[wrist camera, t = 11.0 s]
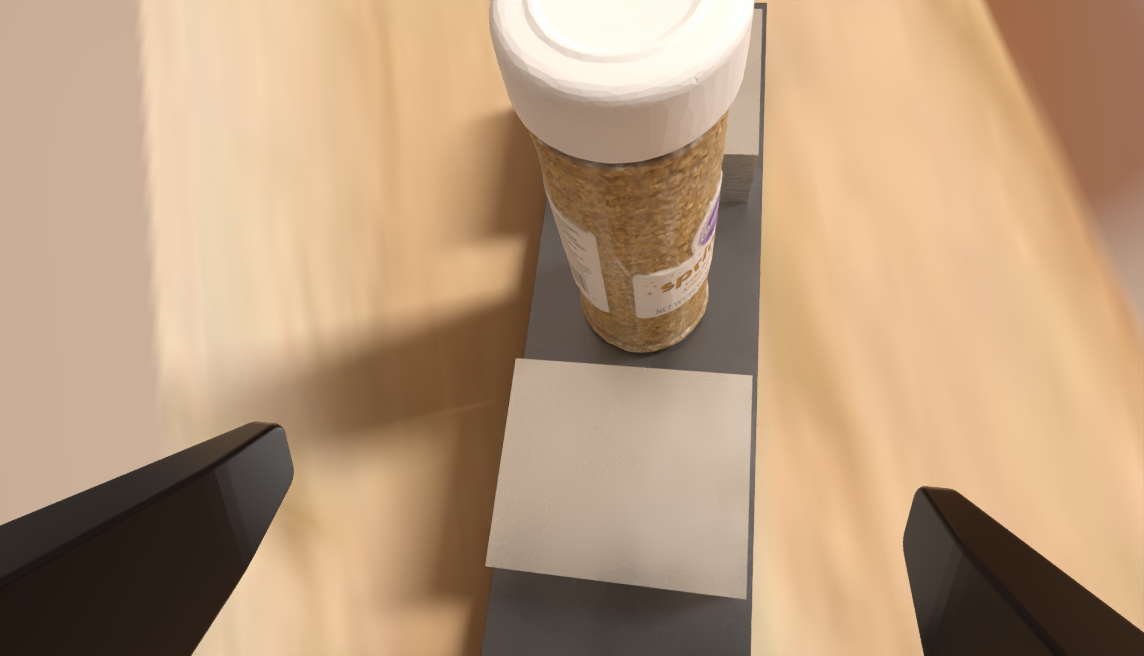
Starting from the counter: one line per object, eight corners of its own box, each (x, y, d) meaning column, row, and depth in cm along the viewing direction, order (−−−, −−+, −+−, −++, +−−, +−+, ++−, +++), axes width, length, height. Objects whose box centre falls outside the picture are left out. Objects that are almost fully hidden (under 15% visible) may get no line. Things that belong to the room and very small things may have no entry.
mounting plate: (744, 711, 20) (763, 749, 16) (487, 672, 21) (446, 697, 17) (762, 25, 28) (778, -63, 24) (577, 27, 29) (564, -56, 25)
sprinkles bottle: (707, 357, 22) (761, 93, 10) (575, 353, 23) (465, 101, 10) (708, 236, 24) (755, -128, 11) (583, 236, 25) (497, -108, 12)
